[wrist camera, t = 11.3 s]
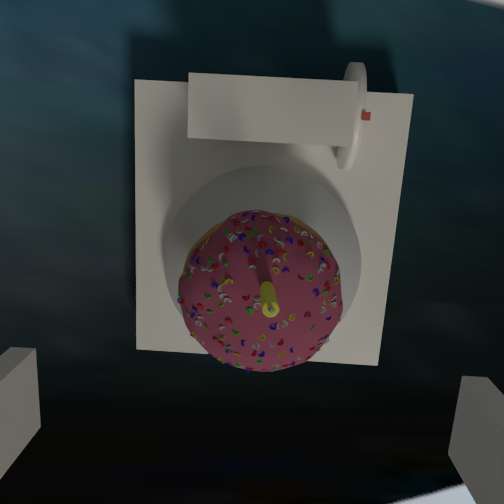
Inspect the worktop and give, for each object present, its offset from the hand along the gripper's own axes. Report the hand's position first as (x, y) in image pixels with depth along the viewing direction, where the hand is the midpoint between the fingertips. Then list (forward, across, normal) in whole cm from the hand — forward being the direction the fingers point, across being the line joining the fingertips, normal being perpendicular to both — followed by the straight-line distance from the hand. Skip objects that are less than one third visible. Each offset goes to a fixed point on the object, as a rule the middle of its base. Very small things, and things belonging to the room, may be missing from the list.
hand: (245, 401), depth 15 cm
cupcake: (+15, 0, 0) cm, 15 cm away
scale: (+19, 0, +2) cm, 19 cm away
